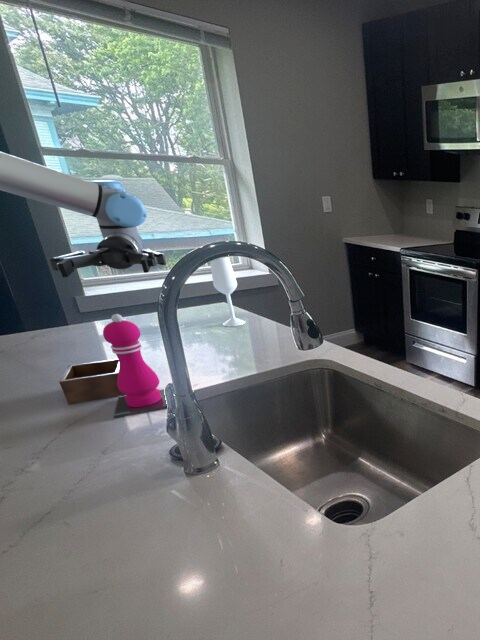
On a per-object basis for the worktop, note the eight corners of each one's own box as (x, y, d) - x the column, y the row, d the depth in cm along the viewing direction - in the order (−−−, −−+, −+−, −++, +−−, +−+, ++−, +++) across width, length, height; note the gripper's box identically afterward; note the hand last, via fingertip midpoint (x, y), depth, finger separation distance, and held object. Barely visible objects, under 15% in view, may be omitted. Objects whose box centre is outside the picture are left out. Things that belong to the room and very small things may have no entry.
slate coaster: (114, 418, 98) (113, 415, 98) (119, 399, 105) (118, 396, 105) (171, 407, 103) (170, 405, 102) (172, 390, 110) (172, 387, 110)
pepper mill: (160, 390, 108) (134, 307, 100) (167, 401, 104) (140, 315, 95) (121, 400, 104) (90, 313, 95) (127, 411, 99) (95, 321, 91)
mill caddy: (68, 404, 102) (58, 381, 100) (76, 386, 110) (68, 365, 108) (126, 394, 107) (118, 373, 105) (130, 378, 115) (123, 357, 113)
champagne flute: (230, 327, 151) (212, 252, 141) (218, 323, 154) (200, 249, 144) (250, 322, 157) (234, 249, 146) (238, 319, 160) (222, 246, 149)
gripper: (183, 263, 123) (179, 281, 107) (58, 270, 111) (32, 291, 95) (175, 234, 120) (170, 247, 103) (46, 237, 108) (17, 253, 92)
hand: (104, 268), depth 99 cm, fingers open, 13 cm apart
